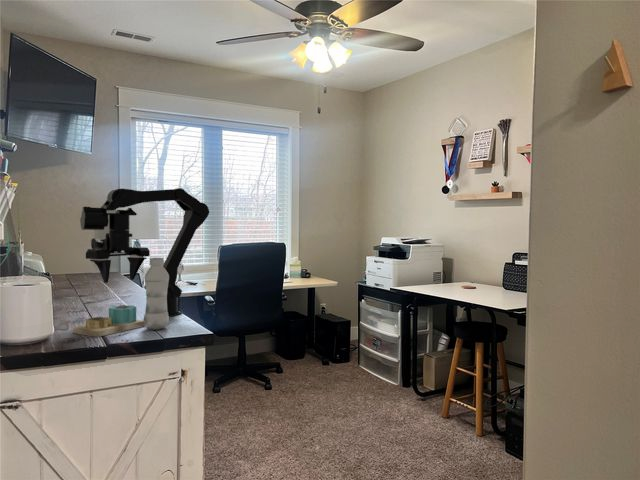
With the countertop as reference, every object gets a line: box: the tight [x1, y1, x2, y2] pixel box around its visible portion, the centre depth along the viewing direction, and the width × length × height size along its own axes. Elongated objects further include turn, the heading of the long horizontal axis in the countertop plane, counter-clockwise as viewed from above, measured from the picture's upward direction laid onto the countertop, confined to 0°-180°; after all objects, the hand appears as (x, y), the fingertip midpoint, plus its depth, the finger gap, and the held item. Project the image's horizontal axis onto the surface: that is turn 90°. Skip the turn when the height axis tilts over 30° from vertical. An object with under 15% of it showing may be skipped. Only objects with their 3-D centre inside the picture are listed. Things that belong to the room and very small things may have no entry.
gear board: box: [72, 304, 145, 338], centre depth 127 cm, size 16×10×6 cm, turn 152°
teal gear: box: [108, 304, 137, 324], centre depth 131 cm, size 7×7×4 cm
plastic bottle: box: [143, 257, 170, 331], centre depth 128 cm, size 6×7×20 cm
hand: (119, 281), depth 139 cm, fingers open, 9 cm apart
